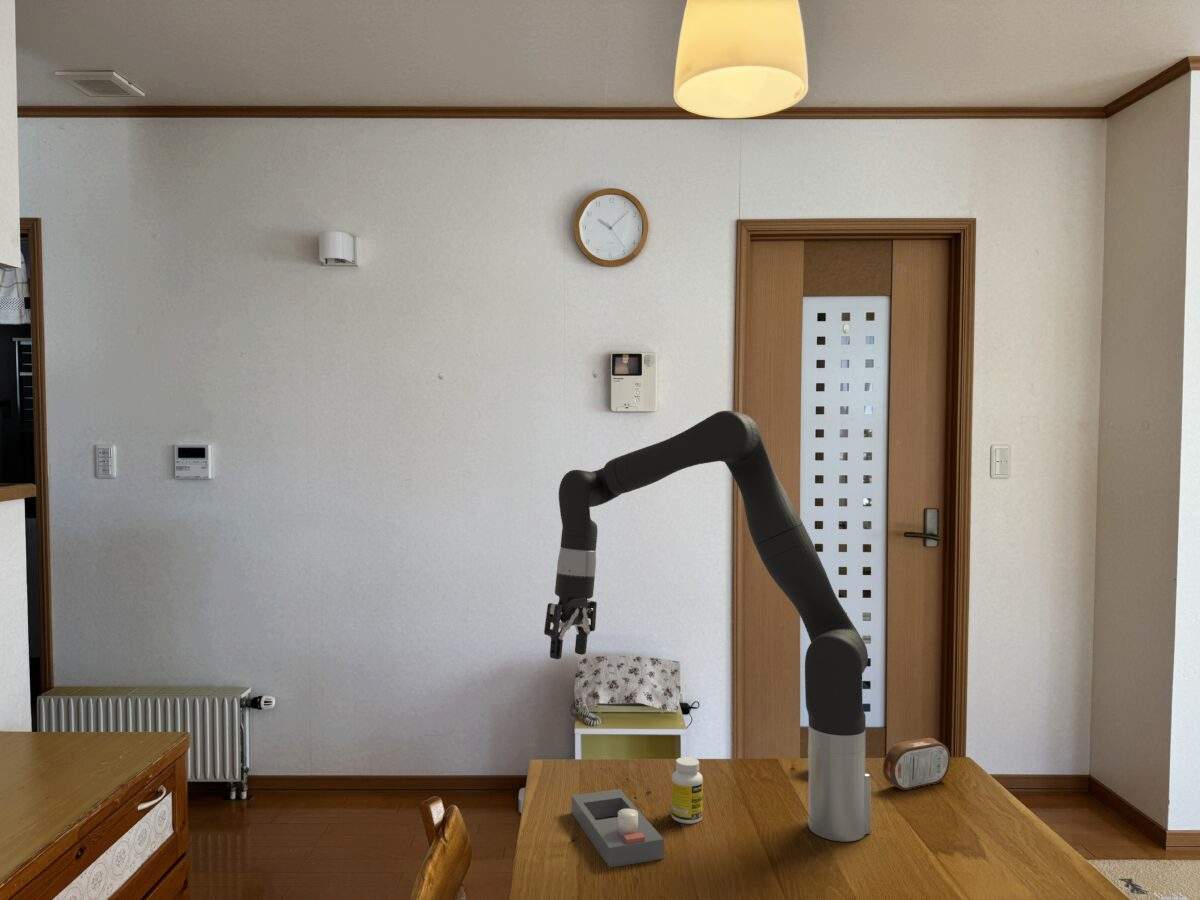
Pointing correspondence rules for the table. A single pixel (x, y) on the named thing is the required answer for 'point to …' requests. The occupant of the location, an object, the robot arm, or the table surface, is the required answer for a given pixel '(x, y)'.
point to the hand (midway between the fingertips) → (568, 656)
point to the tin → (916, 763)
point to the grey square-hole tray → (617, 828)
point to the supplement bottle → (687, 791)
